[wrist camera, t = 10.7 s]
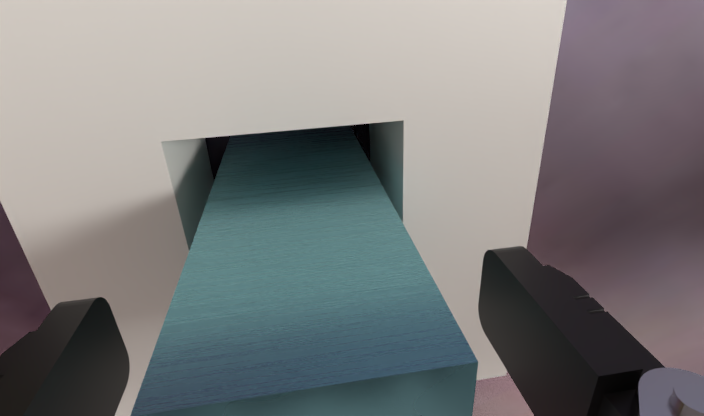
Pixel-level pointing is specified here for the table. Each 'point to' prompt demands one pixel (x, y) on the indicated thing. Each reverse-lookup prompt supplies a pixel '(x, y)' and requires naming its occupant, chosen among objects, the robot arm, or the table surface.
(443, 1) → the well block
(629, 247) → the table surface
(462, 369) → the bracket post
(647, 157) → the table surface
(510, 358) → the robot arm
